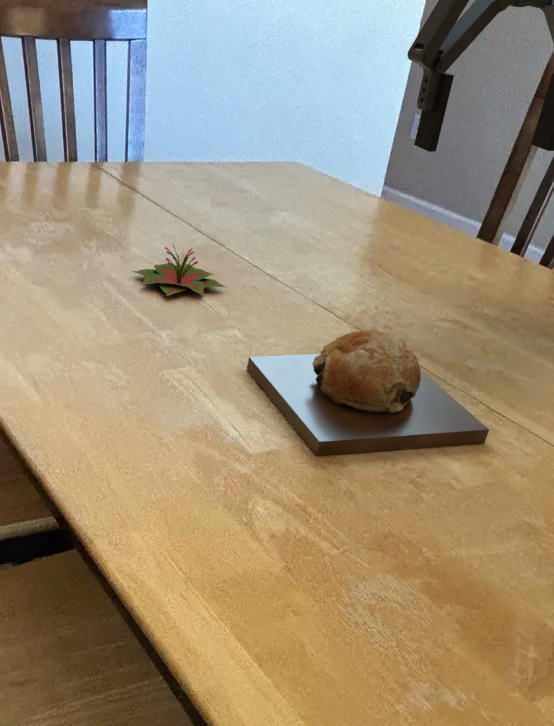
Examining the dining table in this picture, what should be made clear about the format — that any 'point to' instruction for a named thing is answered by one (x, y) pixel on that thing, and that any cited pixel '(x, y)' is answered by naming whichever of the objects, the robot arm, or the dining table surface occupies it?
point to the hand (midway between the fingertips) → (484, 148)
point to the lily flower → (178, 276)
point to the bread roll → (368, 371)
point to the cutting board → (361, 412)
